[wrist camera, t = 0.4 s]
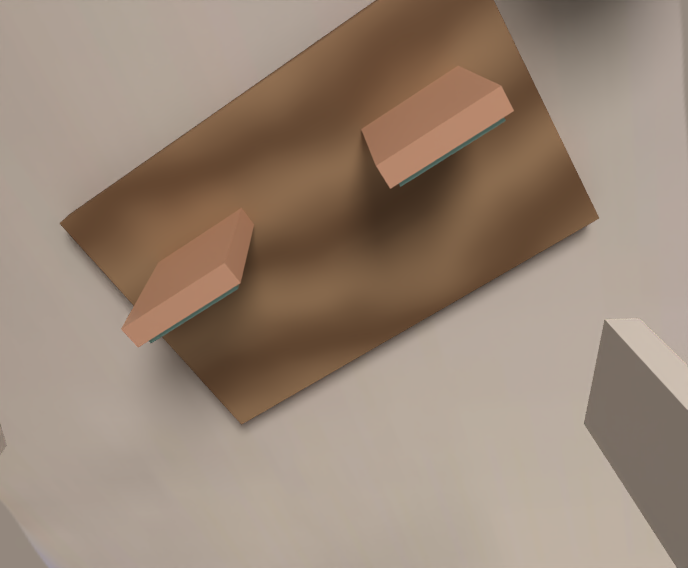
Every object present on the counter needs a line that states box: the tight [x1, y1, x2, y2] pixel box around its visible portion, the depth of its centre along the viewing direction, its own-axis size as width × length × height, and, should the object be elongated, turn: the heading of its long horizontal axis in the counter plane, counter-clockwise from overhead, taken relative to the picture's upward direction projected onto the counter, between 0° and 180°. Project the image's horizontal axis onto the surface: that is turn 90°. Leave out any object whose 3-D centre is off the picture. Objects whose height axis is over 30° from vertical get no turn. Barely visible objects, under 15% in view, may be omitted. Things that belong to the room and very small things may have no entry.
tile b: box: [361, 66, 514, 189], centre depth 30 cm, size 2×6×8 cm, turn 122°
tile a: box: [121, 208, 254, 347], centre depth 32 cm, size 2×6×8 cm, turn 122°
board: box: [60, 0, 599, 425], centre depth 36 cm, size 17×26×2 cm, turn 123°
